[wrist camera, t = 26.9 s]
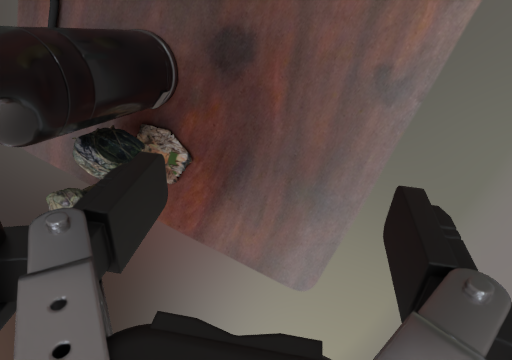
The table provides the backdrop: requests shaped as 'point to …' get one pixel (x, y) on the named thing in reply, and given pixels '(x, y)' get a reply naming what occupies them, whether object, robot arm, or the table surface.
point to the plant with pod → (120, 156)
